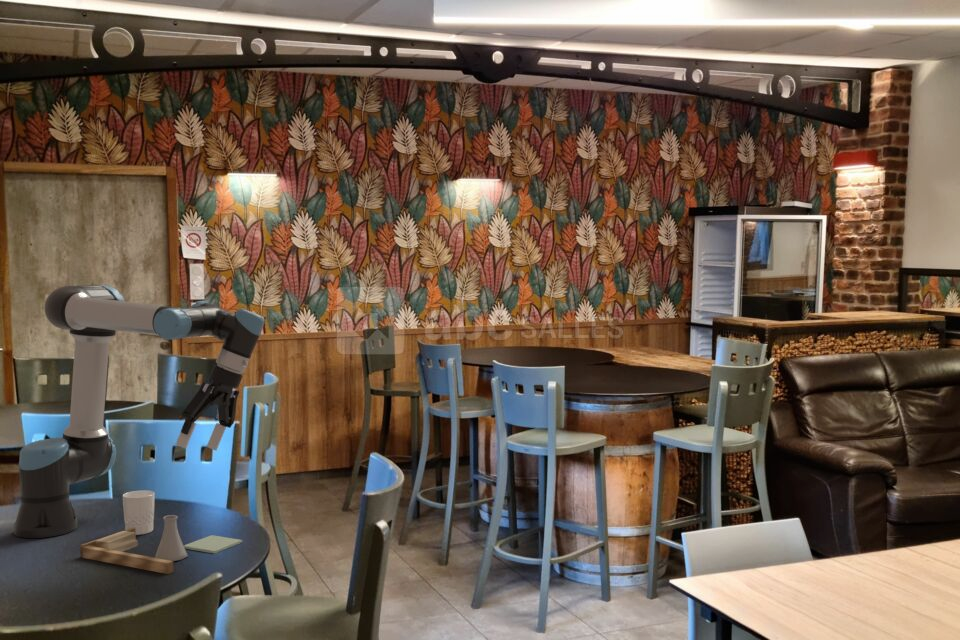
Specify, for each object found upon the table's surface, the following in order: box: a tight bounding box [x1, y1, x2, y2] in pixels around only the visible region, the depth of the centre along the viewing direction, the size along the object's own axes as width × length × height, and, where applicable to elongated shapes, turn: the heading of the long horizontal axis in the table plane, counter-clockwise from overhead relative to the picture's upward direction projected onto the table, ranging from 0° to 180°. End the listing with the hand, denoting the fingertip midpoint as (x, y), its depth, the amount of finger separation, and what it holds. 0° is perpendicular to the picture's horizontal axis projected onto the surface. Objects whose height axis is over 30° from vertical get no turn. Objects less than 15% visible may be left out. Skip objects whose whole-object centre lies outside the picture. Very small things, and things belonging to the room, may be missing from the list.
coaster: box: [183, 534, 243, 554], centre depth 228 cm, size 10×10×1 cm
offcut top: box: [96, 530, 137, 550], centre depth 224 cm, size 4×9×2 cm, turn 159°
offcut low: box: [112, 539, 139, 552], centre depth 224 cm, size 4×9×2 cm, turn 153°
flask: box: [154, 514, 188, 562], centre depth 217 cm, size 7×7×10 cm
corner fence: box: [79, 528, 174, 575], centre depth 219 cm, size 28×16×3 cm, turn 64°
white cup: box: [122, 489, 156, 536], centre depth 240 cm, size 8×8×10 cm
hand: (196, 447), depth 230 cm, fingers open, 13 cm apart
